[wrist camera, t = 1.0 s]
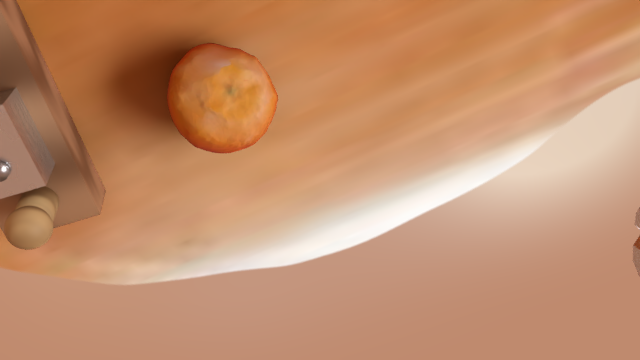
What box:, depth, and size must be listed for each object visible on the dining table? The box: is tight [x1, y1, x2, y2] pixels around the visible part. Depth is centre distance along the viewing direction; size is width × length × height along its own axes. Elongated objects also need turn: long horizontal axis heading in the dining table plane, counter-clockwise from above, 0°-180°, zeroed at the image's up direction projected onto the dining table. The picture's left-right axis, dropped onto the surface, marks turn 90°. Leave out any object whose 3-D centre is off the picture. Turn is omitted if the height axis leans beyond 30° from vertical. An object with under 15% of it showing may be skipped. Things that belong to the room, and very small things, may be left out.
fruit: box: [167, 43, 278, 153], centre depth 42 cm, size 8×8×8 cm
